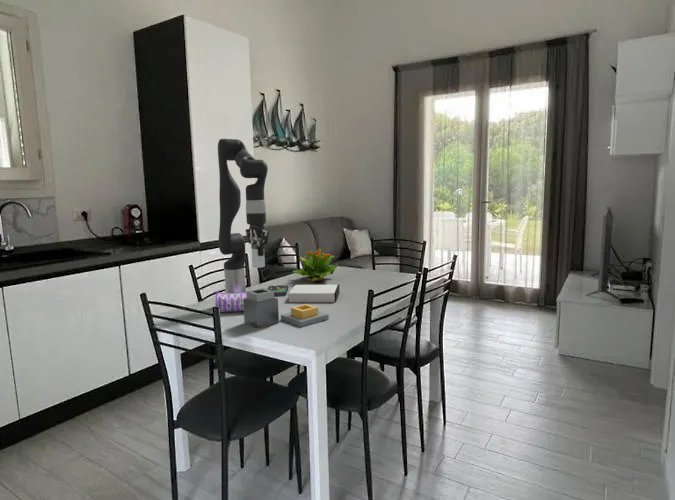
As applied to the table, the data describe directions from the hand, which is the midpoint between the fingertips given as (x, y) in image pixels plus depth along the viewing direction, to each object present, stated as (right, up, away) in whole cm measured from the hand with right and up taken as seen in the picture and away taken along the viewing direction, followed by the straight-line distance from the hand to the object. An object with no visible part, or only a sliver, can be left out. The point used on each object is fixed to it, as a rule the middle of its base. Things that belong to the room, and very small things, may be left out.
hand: (258, 255), depth 179 cm
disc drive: (+21, -22, +43) cm, 52 cm away
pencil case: (-12, -25, +23) cm, 36 cm away
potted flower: (+18, -15, +83) cm, 87 cm away
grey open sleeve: (+1, -27, +4) cm, 28 cm away
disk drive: (0, -21, +54) cm, 58 cm away
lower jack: (+18, -27, +7) cm, 33 cm away
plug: (0, -5, +1) cm, 5 cm away
